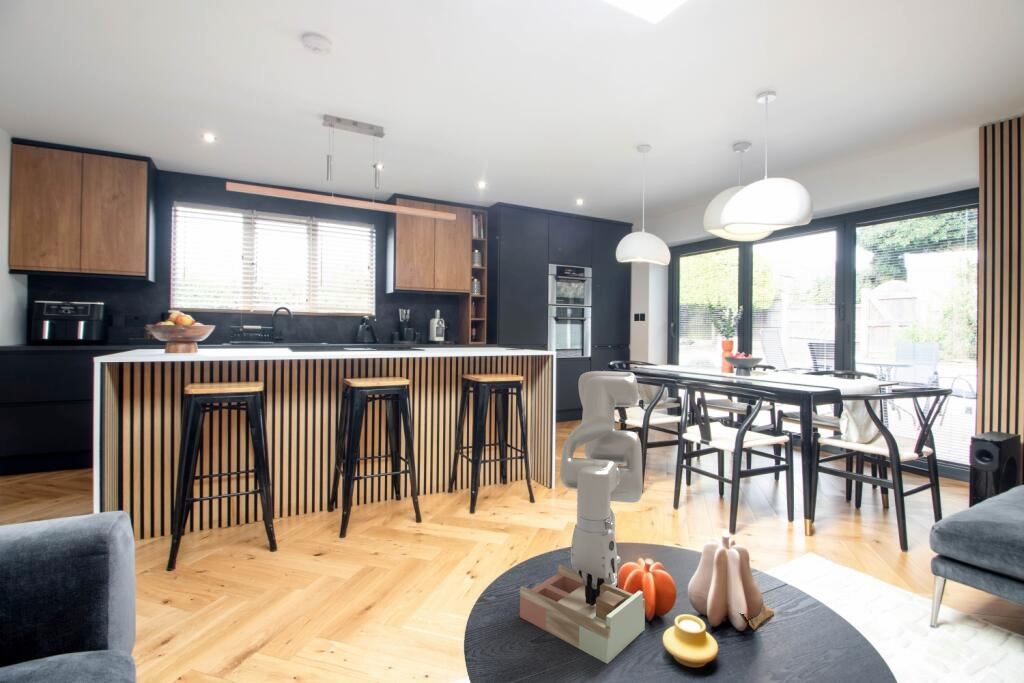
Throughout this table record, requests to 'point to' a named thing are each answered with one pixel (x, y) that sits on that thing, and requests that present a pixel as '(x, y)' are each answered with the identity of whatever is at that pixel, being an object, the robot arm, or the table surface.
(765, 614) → the shard
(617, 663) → the table surface
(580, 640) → the box
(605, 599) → the walnut block
